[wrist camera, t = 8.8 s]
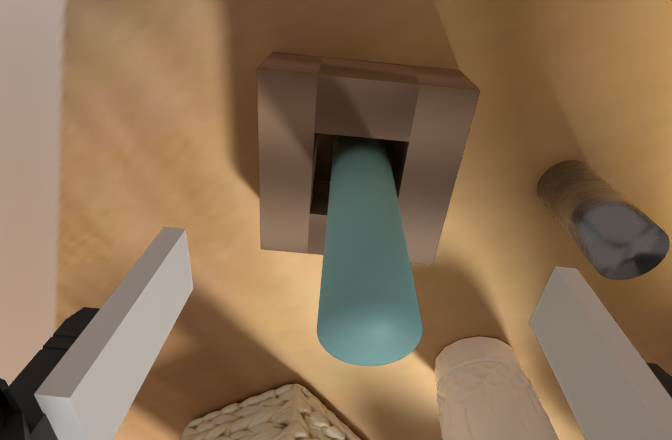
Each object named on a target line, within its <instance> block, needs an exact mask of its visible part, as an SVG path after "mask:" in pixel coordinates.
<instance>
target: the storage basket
mask: <svg viewBox="0 0 672 440" xmlns="http://www.w3.org/2000/svg"><path fill="white" fill-rule="evenodd" d="M180 440H361V439H360V438H359V437H357V436H356V435H355V434H354V433H353V432H352V431H351V430H350V428H349V427H348V426H347V425H344V424H343V423H342V422H341V421H340V420H339V419H338V418H337V417H336V416H335V414H334V413H333V412H331V411H329V410H328V409H327V408H326V407H325V406H324V405H323V404H322V403H321V402H320V400H319V399H318V398H317V397H315V396H313V395H312V394H311V393H310V392H309V391H308V390H307V389H306V388H305V387H304V386H301V385H300V384H289V385H285V386H282V387H280V388H278V389H276V390H269V391H267V392H265V393H263V394H261V395H258V396H253V397H250V398H248V399H246V400H244V401H243V402H242V403H234V404H230V405H228V406H226V407H224V408H223V409H221V410H220V411H214V412H211V413H209V414H207V415H206V416H204V417H201V418H197V419H195V420H193V421H191V422H190V423H189V424H188V425H187V426H186V427H185V429H184V431H183V433H182V437H181V438H180Z"/></svg>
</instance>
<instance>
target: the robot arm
mask: <svg viewBox="0 0 672 440" xmlns="http://www.w3.org/2000/svg"><path fill="white" fill-rule="evenodd" d="M192 290H193V281H192V273H191V266H190V259H189V251H188V244H187V236H186V229H180V228H170V227H164V228H163V229H162V230H161V231H160V233H159V234H158V235H157V237H156V238H155V239H154V240H153V242H152V243H151V244H150V246H149V247H148V248H147V249H146V251H145V252H144V253H143V255H142V256H141V257H140V258H139V260H138V261H137V262H136V264H135V265H134V266H133V267H132V269H131V270H130V271H129V273H128V274H127V275H126V276H125V278H124V279H123V280H122V282H121V283H120V284H119V285H118V287H117V288H116V289H115V291H114V292H113V293H112V294H111V296H110V297H109V298H108V300H107V301H106V302H105V303H104V305H103V306H102V307H101V309H97V308H87V307H84V308H82V309H81V310H79V311H78V312H76V313H75V314H73V315H72V316H70V317H69V318H67V319H66V320H65V321H64V322H63V324H62V325H61V326H60V327H59V328H58V329H57V331H56V332H55V333H54V334H53V337H51V338H50V339H49V340H48V341H47V342H46V343H45V345H44V346H43V349H42V350H40V351H39V352H38V353H37V354H36V355H35V356H34V358H33V359H32V360H31V361H30V362H29V363H28V365H27V366H26V367H25V368H24V369H23V370H22V372H21V373H20V374H19V375H18V376H17V378H16V379H15V380H14V381H13V382H12V384H11V385H10V386H8V384H7V383H6V381H5V380H3V379H1V378H0V440H113V438H114V436H115V435H116V433H117V431H118V429H119V427H120V425H121V423H122V421H123V420H124V418H125V416H126V414H127V412H128V410H129V408H130V406H131V405H132V403H133V401H134V399H135V397H136V395H137V393H138V391H139V390H140V388H141V386H142V384H143V382H144V380H145V378H146V376H147V374H148V373H149V371H150V369H151V367H152V365H153V363H154V361H155V359H156V358H157V356H158V354H159V352H160V350H161V348H162V346H163V344H164V343H165V341H166V339H167V337H168V335H169V333H170V331H171V329H172V328H173V326H174V324H175V322H176V320H177V318H178V316H179V314H180V313H181V311H182V309H183V307H184V305H185V303H186V301H187V299H188V297H189V296H190V294H191V292H192ZM529 323H530V325H531V327H532V329H533V332H534V334H535V336H536V338H537V340H538V342H539V344H540V346H541V348H542V350H543V352H544V354H545V356H546V359H547V361H548V363H549V365H550V367H551V369H552V371H553V373H554V375H555V377H556V379H557V381H558V383H559V386H560V388H561V390H562V392H563V394H564V396H565V398H566V400H567V402H568V404H569V406H570V408H571V410H572V413H573V415H574V417H575V419H576V421H577V423H578V425H579V427H580V429H581V431H582V433H583V435H584V437H585V440H672V377H671V376H670V375H669V374H667V373H666V372H665V371H664V370H663V369H662V368H660V367H659V366H658V365H657V364H652V363H646V362H645V361H644V360H643V358H642V357H641V356H640V354H639V353H638V351H637V350H636V349H635V347H634V346H633V345H632V343H631V342H630V341H629V339H628V338H627V336H626V335H625V334H624V332H623V331H622V330H621V328H620V327H619V325H618V324H617V323H616V321H615V320H614V319H613V317H612V316H611V315H610V313H609V312H608V310H607V309H606V308H605V306H604V305H603V304H602V302H601V301H600V299H599V298H598V297H597V295H596V294H595V293H594V291H593V290H592V289H591V287H590V286H589V284H588V283H587V282H586V280H585V279H584V278H583V276H582V275H581V274H580V272H579V271H578V269H577V268H568V267H558V266H555V268H554V270H553V272H552V274H551V276H550V278H549V280H548V283H547V285H546V287H545V289H544V291H543V293H542V295H541V297H540V300H539V302H538V304H537V306H536V308H535V310H534V312H533V314H532V316H531V319H530V321H529Z"/></svg>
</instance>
